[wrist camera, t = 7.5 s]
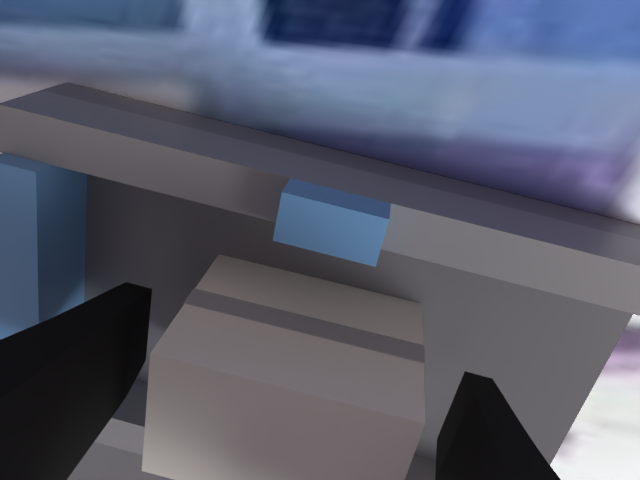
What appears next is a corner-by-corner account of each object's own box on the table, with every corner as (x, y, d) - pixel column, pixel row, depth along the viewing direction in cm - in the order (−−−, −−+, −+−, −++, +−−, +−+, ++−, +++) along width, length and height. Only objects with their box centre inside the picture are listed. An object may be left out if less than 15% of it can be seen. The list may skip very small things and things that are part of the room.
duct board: (63, 522, 21) (4, 614, 18) (66, 82, 13) (-31, 113, 11) (441, 629, 20) (446, 743, 17) (651, 228, 13) (723, 304, 10)
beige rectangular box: (205, 353, 15) (140, 471, 11) (217, 253, 14) (148, 351, 10) (391, 399, 15) (384, 536, 11) (423, 302, 13) (427, 422, 10)
